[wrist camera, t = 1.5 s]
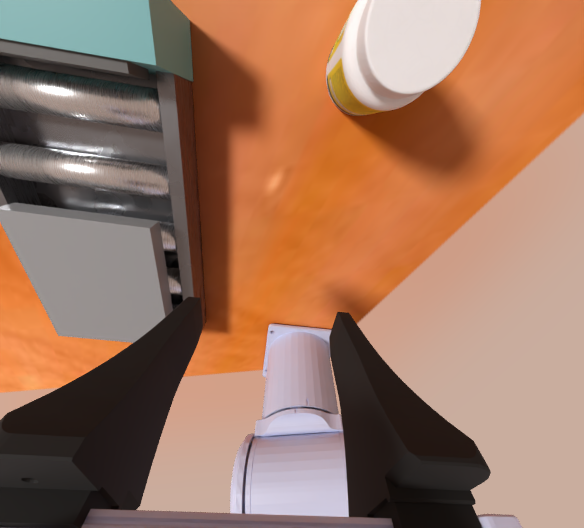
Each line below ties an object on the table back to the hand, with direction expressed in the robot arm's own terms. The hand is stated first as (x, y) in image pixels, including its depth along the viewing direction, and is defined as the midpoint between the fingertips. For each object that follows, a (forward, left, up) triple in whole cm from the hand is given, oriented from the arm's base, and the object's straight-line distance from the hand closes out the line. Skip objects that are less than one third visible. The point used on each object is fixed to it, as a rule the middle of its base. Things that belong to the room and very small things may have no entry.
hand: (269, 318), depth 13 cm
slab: (-4, +14, -7) cm, 16 cm away
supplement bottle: (+13, -4, -11) cm, 17 cm away
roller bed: (0, +14, -10) cm, 17 cm away
